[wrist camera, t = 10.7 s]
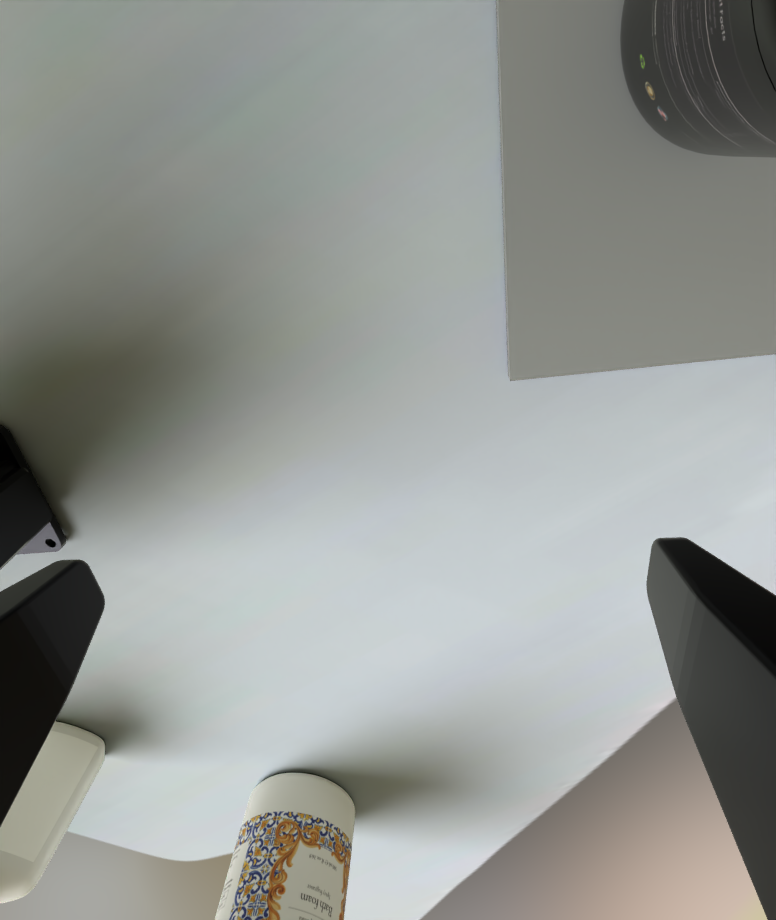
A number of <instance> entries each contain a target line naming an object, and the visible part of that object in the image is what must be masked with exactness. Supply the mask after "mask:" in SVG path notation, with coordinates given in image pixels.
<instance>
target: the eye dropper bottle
mask: <svg viewBox="0 0 776 920" xmlns="http://www.w3.org/2000/svg"><path fill="white" fill-rule="evenodd" d="M104 758H105V744H104V741H103V740H102V739H101V738H100V737H99V736H97V735H95V734H93V733H91V732H88V731H86V730H84V729H81V728H78V727H75V726H72V725H69V724H65V723H61V722H56V721H55V723H54V725H53V727H52V729H51V731H50V733H49V735H48V737H47V738H46V740H45V742H44V744H43V746H42V748H41V750H40V752H39V754H38V756H37V758H36V760H35V762H34V763H33V765H32V767H31V769H30V771H29V773H28V775H27V777H26V779H25V781H24V783H23V785H22V787H21V788H20V790H19V792H18V794H17V796H16V798H15V800H14V802H13V804H12V806H11V808H10V810H9V812H8V813H7V815H6V817H5V819H4V821H3V823H2V825H1V827H0V903H4V902H9V901H13V900H16V899H19V898H21V897H23V896H25V895H27V894H28V893H29V892H31V891H32V889H33V888H34V887H35V886H36V884H37V883H38V881H39V880H40V878H41V876H42V875H43V873H44V871H45V869H46V867H47V866H48V864H49V862H50V860H51V858H52V857H53V855H54V853H55V851H56V849H57V847H58V846H59V843H60V842H61V840H62V838H63V836H64V835H65V833H66V831H67V829H68V827H69V825H70V823H71V822H72V820H73V818H74V816H75V814H76V812H77V811H78V809H79V807H80V805H81V803H82V801H83V799H84V798H85V796H86V794H87V792H88V790H89V788H90V786H91V784H92V783H93V781H94V779H95V777H96V775H97V773H98V771H99V770H100V768H101V766H102V764H103V762H104Z"/></svg>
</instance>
